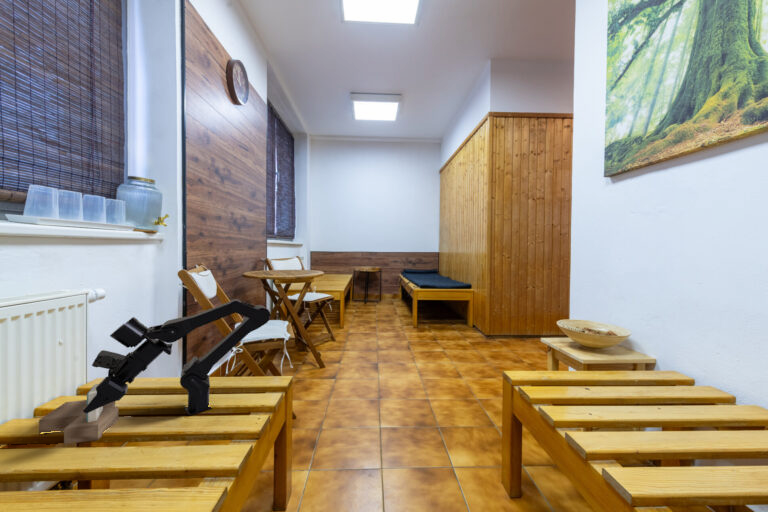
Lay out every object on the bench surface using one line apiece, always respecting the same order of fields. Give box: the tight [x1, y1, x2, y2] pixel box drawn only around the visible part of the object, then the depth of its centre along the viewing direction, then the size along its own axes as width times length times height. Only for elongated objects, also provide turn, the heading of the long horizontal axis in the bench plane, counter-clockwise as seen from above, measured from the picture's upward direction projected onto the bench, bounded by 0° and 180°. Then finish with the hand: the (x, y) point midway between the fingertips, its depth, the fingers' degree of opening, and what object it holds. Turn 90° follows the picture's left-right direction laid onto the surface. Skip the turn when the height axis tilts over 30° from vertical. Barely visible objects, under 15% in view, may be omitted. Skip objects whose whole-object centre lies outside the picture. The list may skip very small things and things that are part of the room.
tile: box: [86, 383, 103, 422], centre depth 83 cm, size 2×6×8 cm, turn 32°
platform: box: [38, 399, 119, 445], centre depth 84 cm, size 16×16×4 cm
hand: (90, 404), depth 82 cm, fingers open, 9 cm apart
